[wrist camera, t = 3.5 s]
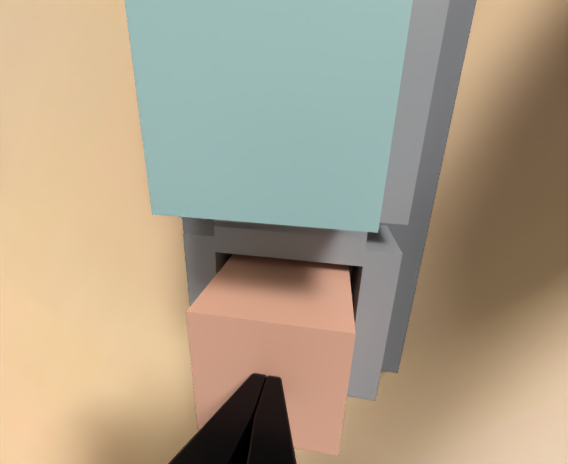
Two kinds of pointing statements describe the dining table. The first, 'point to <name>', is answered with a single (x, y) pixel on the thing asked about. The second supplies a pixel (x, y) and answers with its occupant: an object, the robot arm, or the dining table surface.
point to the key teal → (269, 107)
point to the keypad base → (395, 208)
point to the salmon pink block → (277, 341)
